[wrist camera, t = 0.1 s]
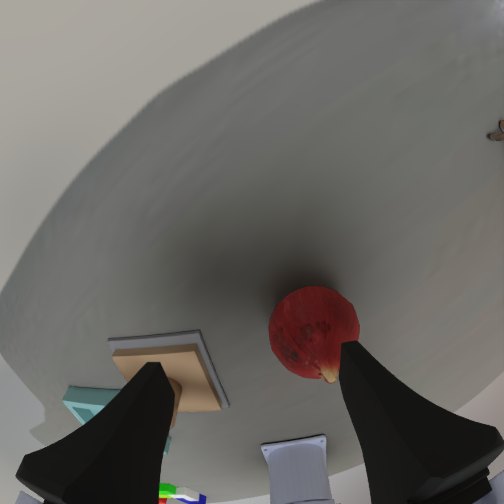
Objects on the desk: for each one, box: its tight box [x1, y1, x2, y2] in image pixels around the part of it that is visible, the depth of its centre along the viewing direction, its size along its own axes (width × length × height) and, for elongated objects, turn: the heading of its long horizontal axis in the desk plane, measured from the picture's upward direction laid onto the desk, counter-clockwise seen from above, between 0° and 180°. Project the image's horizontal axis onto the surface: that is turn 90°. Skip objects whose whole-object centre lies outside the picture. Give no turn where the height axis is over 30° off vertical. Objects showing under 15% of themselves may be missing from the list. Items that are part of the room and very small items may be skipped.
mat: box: [107, 330, 230, 408], centre depth 23 cm, size 10×9×1 cm
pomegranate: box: [269, 286, 360, 384], centre depth 17 cm, size 6×6×8 cm
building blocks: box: [159, 483, 206, 504], centre depth 35 cm, size 15×13×4 cm
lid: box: [112, 343, 222, 429], centre depth 21 cm, size 8×8×5 cm
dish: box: [62, 386, 171, 454], centre depth 26 cm, size 10×10×2 cm
